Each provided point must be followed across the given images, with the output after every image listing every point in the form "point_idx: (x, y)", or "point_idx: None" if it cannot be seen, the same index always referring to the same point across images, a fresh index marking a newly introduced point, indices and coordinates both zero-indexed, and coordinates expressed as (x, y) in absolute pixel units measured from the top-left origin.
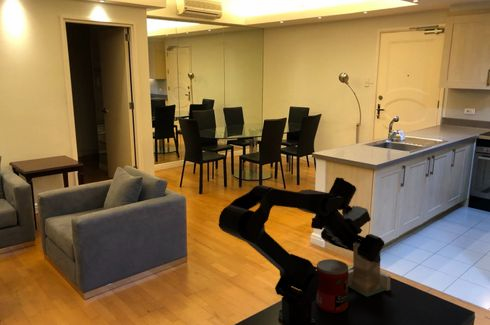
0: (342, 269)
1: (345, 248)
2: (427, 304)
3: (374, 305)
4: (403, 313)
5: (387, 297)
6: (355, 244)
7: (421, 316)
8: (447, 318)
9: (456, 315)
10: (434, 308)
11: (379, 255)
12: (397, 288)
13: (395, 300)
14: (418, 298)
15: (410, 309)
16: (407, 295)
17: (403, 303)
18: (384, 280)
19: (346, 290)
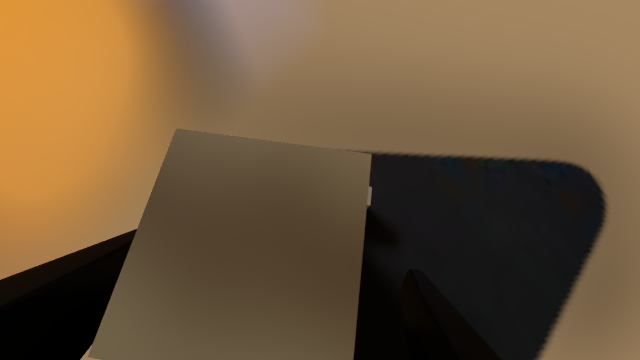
0: None
1: (79, 355)
2: (495, 199)
3: (403, 352)
4: (500, 317)
5: (391, 257)
6: (143, 357)
7: (543, 285)
8: (587, 231)
9: (583, 194)
10: (523, 205)
11: (473, 329)
12: (371, 176)
13: (421, 254)
14: (453, 185)
15: (491, 271)
16: (421, 194)
17: (450, 252)
18: None
19: None
